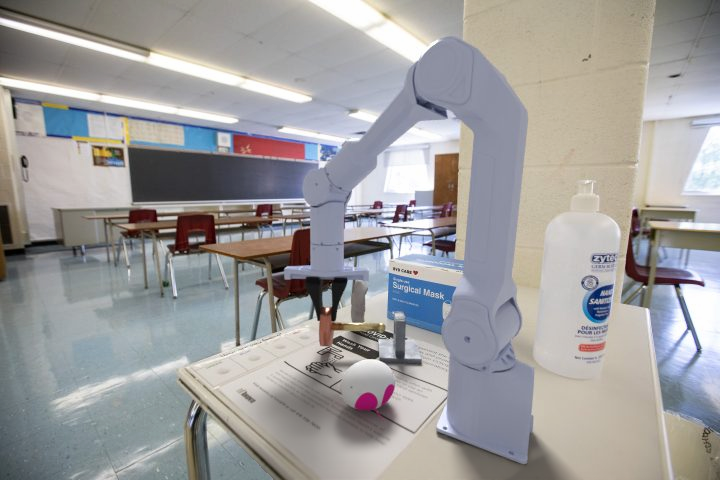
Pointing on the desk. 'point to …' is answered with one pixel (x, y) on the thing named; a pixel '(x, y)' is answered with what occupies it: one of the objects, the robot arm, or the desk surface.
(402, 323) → the eye post
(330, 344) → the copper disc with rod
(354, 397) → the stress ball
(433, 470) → the desk surface
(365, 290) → the fossil
